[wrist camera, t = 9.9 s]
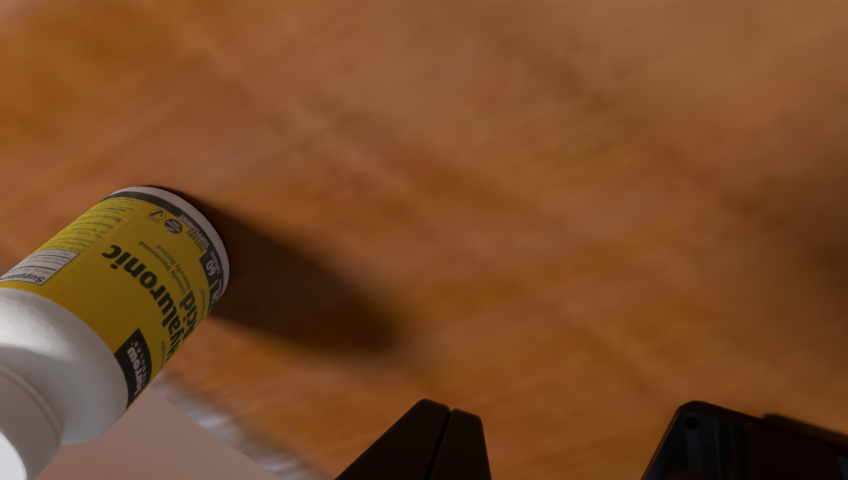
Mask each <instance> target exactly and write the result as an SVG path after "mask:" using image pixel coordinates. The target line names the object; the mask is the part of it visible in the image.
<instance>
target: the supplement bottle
mask: <svg viewBox="0 0 848 480" xmlns="http://www.w3.org/2000/svg"><path fill="white" fill-rule="evenodd" d="M228 279H229V261H228V257H227V253H226V250H225V247H224V245H223V243H222V241H221V239H220V237H219V235H218V234H217V232H216V230H215V229H214V228H213V226H212V225H211V224H210V222H209V221H208V220H207V219H206V218H205V217H204V216H203V215H202V214H201V213H200V212H199V211H198V210H197V209H196V208H195V207H193V206H192V205H191V204H189V203H188V202H186V201H185V200H183V199H182V198H180V197H178V196H176V195H174V194H172V193H170V192H167V191H164V190H161V189H157V188H152V187H143V186H138V187H129V188H124V189H121V190H119V191H116V192H114V193H112V194H111V195H109V196H108V197H106V198H104V199H103V200H101V201H100V202H99V203H97V204H96V205H95V206H94V207H92V208H91V209H89V210H88V211H87V212H85V213H84V214H83V215H82V216H80V217H79V218H78V219H76V220H75V221H74V222H72V223H71V224H70V225H68V226H67V227H66V228H65V229H63V230H62V231H61V232H59V233H58V234H57V235H55V236H54V237H53V238H52V239H50V240H49V241H48V242H46V243H45V244H44V245H42V246H41V247H40V248H38V249H37V250H36V251H35V252H33V253H32V254H31V255H29V256H28V257H27V258H25V259H24V260H23V261H22V262H20V263H19V264H18V265H16V266H15V267H14V268H12V269H11V270H10V271H9V272H7V273H6V274H5V275H3V276H2V277H1V278H0V480H35V478H36V477H37V476H38V475H39V474H40V473H41V472H42V471H43V470H44V469H45V468H46V467H47V466H48V465H49V464H50V463H51V462H52V460H53V459H54V457H55V455H56V453H57V452H58V451H59V449H60V447H61V444H75V443H81V442H86V441H89V440H92V439H94V438H97V437H98V436H100V435H102V434H103V433H105V432H106V431H107V430H109V428H111V427H112V426H113V425H114V424H115V423H116V422H117V421H118V420H119V419H120V418H121V417H122V415H123V414H124V413H125V412H126V411H127V410H128V409H129V407H130V406H131V405H132V404H133V403H134V401H135V400H136V399H137V398H138V397H139V396H140V394H141V393H142V392H143V391H144V390H145V388H146V387H147V386H148V385H149V384H150V382H151V381H152V380H153V379H154V378H155V376H156V375H157V374H158V373H159V371H160V370H161V369H162V368H163V367H164V366H165V365H166V363H167V362H168V361H169V360H170V359H171V357H172V356H173V355H174V354H175V353H176V351H177V350H178V349H179V348H180V347H181V345H182V344H183V343H184V342H185V341H186V339H187V338H188V337H189V336H190V334H191V333H192V332H193V331H194V330H195V329H196V327H197V326H198V325H199V324H200V323H201V321H202V320H203V319H204V318H205V317H206V316H207V314H208V313H209V312H210V311H211V310H212V308H213V307H214V306H215V305H216V303H217V302H218V300H219V299H220V297H221V296H222V295H223V293H224V291H225V289H226V286H227V283H228Z"/></svg>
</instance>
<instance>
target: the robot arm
mask: <svg viewBox="0 0 848 480" xmlns="http://www.w3.org/2000/svg"><path fill="white" fill-rule="evenodd" d="M687 418H696V420H689V419H687ZM335 480H492V479H491V473H490V467H489V461H488V455H487V449H486V443H485V437H484V431H483V425H482V421H481V418H480V417H479V416H477V415H475V414H472V413H469V412H466V411H463V410H460V409H453V410H451V412H450V408H449V407H448V406H447V405H445V404H442V403H438V402H435V401H432V400H429V399H421V400H420V401H418V402H417V403H416V404H415V405H414V406H413V407H412V408H411V409H410V410H408V411H407V412H406V413H405V414H404V415H403V416H402V417H401V418H400V419H399V420H398V421H397V422H396V423H395V424H393V425H392V426H391V427H390V428H389V429H388V430H387V431H386V432H385V433H384V434H383V435H382V436H381V437H380V438H379V439H377V440H376V441H375V442H374V443H373V444H372V445H371V446H370V447H369V448H368V449H367V450H366V451H365V452H364V453H362V454H361V455H360V456H359V457H358V458H357V459H356V460H355V461H354V462H353V463H352V464H351V465H350V466H349V467H347V468H346V469H345V470H344V471H343V472H342V473H341V474H340V475H339V476H338V477H337V478H336V479H335ZM641 480H848V449H845V448H841V447H838V446H835V445H831V444H828V443H825V442H821V441H818V440H815V439H811V438H808V437H805V436H801V435H798V434H795V433H791V432H788V431H785V430H782V429H778V428H775V427H772V426H768V425H765V424H762V423H758V422H755V421H752V420H748V419H745V418H742V417H738V416H735V415H732V414H728V413H725V412H722V411H718V410H715V409H712V408H708V407H705V406H702V405H699V404H693V403H688V404H684V405H682V406H680V407H679V408H678V409H677V410H676V412H675V414H674V416H673V418H672V420H671V422H670V424H669V426H668V428H667V430H666V432H665V434H664V435H663V437H662V439H661V441H660V443H659V445H658V447H657V449H656V451H655V453H654V455H653V457H652V459H651V461H650V463H649V465H648V467H647V468H646V470H645V472H644V474H643V476H642V478H641Z"/></svg>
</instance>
